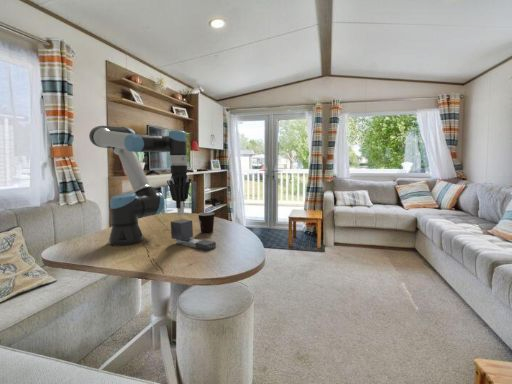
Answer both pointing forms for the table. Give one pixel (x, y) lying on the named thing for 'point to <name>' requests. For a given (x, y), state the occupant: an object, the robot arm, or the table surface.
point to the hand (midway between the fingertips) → (180, 214)
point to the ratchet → (197, 243)
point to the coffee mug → (206, 222)
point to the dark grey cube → (181, 229)
